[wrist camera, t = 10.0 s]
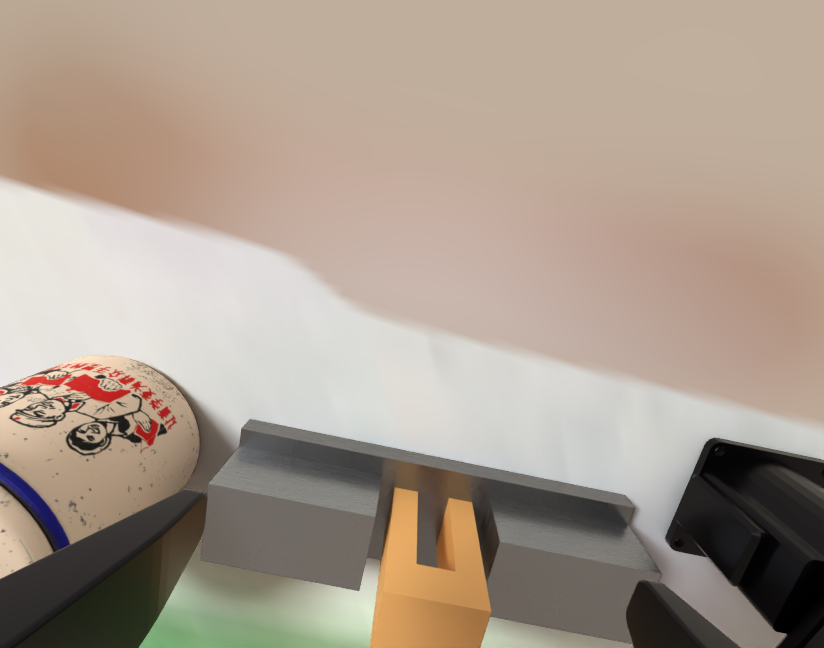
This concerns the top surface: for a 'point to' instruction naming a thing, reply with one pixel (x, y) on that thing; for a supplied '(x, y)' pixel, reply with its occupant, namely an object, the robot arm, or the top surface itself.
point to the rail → (425, 525)
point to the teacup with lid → (87, 452)
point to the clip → (430, 582)
